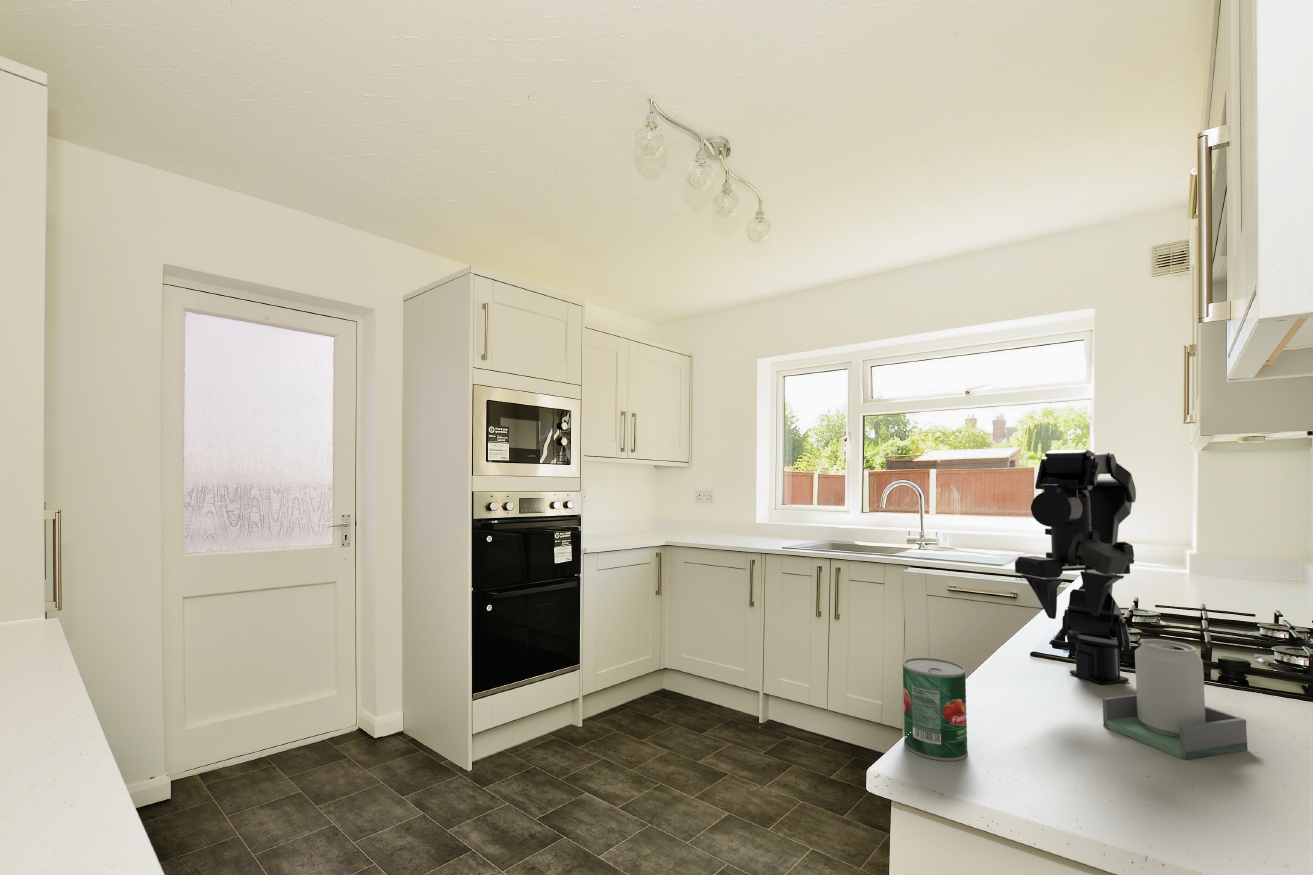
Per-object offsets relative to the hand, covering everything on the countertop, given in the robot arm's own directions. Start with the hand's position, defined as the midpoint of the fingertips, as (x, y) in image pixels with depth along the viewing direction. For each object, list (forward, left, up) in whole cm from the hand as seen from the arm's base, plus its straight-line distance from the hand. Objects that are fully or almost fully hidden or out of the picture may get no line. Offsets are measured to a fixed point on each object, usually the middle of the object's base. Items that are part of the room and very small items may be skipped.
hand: (1073, 616), depth 105 cm
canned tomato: (+37, +11, -13) cm, 40 cm away
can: (+2, +16, -12) cm, 20 cm away
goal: (+2, +17, -13) cm, 21 cm away
